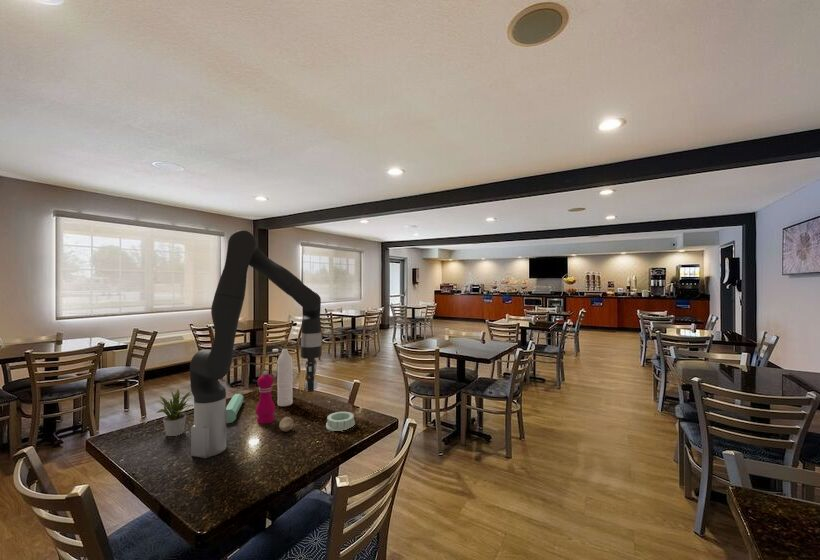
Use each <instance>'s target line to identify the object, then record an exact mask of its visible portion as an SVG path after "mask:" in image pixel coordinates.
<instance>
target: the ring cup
mask: <svg viewBox="0 0 820 560" xmlns="http://www.w3.org/2000/svg"><path fill="white" fill-rule="evenodd" d="M326 421H327V422H326V423H325V428H326V430H327V431H330V432H334V431H341V432H344V431H343V430H347V429H349V428H351V427H353V426H354V425H355V426H356V421H355V415H354V413H352V412H349V411H337V412H332V413H330V414H328V415H327V418H326ZM355 426H354V427H355ZM354 427H353V428H354ZM347 431H348V430H347Z"/></svg>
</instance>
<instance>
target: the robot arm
mask: <svg viewBox="0 0 820 560" xmlns="http://www.w3.org/2000/svg"><path fill="white" fill-rule="evenodd" d="M255 237H256V236H254V234H252V233H251V232H250V231H248V230H246V229H240V230H236V231H235V232H233V233H232V234H231V235H230V236H229V237H228V241H227V251H226V256H225V263H224V266H223V270H222V272H221V274H220V278H219V281H218V284H217V286H216V290H215V293H214V296H213V300H212V304H211V308H210V311H211V312H210V314H211V320H212V323H213V329H214V337H213V341H212V342H213V343H212V345H211V349H200V350H198V351H197V352H196V353H195V354H194V355H193V356H192V358H191V360H190V363H189V378H190V382H189V383H190V391H191V392H190V393H191V395H192V396H193V404H194V405H193V425H192V426H191V427H190V435H191V436H190V438H191V439H190V443H191V444H190V446H191V447H190V448H191V449H190V451H191V452H190V453H191V454H190V455H191V457H197V458H200V459H201V458H202V459H208V458H210V457H214V456H216V455H219V454H221V453H223V452H224V451H225V450H226V449H227V423H226V407H227V391H226V388H225V386H224V385H222V384H221V382H220V381H219V380H222V379H223V378H224V377H226V376H227V374H228V372H229V371H230V369H231V366H232V362H233V356H234V348H235V341H236V334H237V331H238V326H239V321H240V316H241V313H242V309H243V305H244V301H245V296H246V291H247V290H246V289H247V278H248V276H247V275H248V269H249V266H250V267H252V268H253V269H255V270H256V271H257V272H259V273H260V274H261V275H263V276H264V277H266V279H268V280H269V281H270V282H272V283H273V284H274V285H275V286H276V287H278V288H279V289H280V290H281V291H282V292H284V293H285V294H287V295H288V296H289V297H291V298H292V299H293V301H295V302H296V303H297V304H298V305H299V306H300V307H301V308H302V309H301V310H302V319H301V334H300V335H301V337H300V358H302V359H306V360H307V361H305V375H306V379H305V381H307V382H308V390H307V392H308V393H313V392H314V391H315V390H314V378H315V377H316V373H317V365H318V363H317V362H318V361H317V360H316V359H319V358H321V356H322V332H321V331H322V327H321V326H322V325H321V324H322V322H321V306H322V305H321V304H322V303H321V302H322V299H321V296H320V295H319V293H317V292H315V291H314V290H312V289H311V288H310V287H308V286H307V285H305V284H304V282H303V281H302V280H301V279H299V278H298V277H297V276H296V275H295V274H294V273H292V271H290V270H288V269H287V268H285V267H283V266H282V265H280V264H279V263H277V262H275V261H273V260H272V259H270V258H269V257H268V256H267V255H266V254H264V252H263V251H262V250H260V249H259V247H258V246H257V239H256V238H255ZM315 379H316V378H315Z"/></svg>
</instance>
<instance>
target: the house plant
mask: <svg viewBox="0 0 820 560" xmlns="http://www.w3.org/2000/svg"><path fill="white" fill-rule="evenodd" d="M170 392H171V396H172V398H170V399H169V401H168V400H166V398H165V397H162V396H161V395H156V396H157V397H158V398H159V399H161V401H160V400H158V399H157V400H156V402H159V403H161V404H162V405H163V408H160V409H158V411H157V412H156V413H155V414H158V413H159V414H160V413H164V414H165V415H166V416H165V417H164V418H162V420H163V425H164V431H165V436H166V435H167V436H176V437H178V436H177V435H179V436H181V435H183V434H182V433H184V430H185V425H186V424H185V423H186V420H187V414H186V413H181V412H182V411H183V410H184V409H185V408H186V410H188V409H189V408H190V407H193V406H194V403H193V404H191V405H190V404H189V405H188V403H187V402H188V401H190V399H191V397H190V398H189V396H191V395H192V392H191V390H189V391H188V392H187V393H186V394H185V395H184V396H182V397H181V395H180V390H179V388H177V390H176V391H175V393H173V391H172V390H170ZM180 400H181V401H180ZM180 434H181V435H180ZM167 436H166V437H167Z"/></svg>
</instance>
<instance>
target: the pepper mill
mask: <svg viewBox="0 0 820 560" xmlns="http://www.w3.org/2000/svg"><path fill="white" fill-rule="evenodd" d="M274 382H275V381H274V377H273V376H272V375H270V374H269V372H268V370H264V371H263V373H262V375H260V376H259V377H258V378H257V385H258V392H259V399H258V402H257V405H256V406H255V407H256V408H255V414H256V415H257V417H256V422H257V424H261V425H266V424H269V423H273V422H274V421H275V415H274V414H275V411H276V404H275V402H274V400H273V398H272V391H273V384H274Z"/></svg>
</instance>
